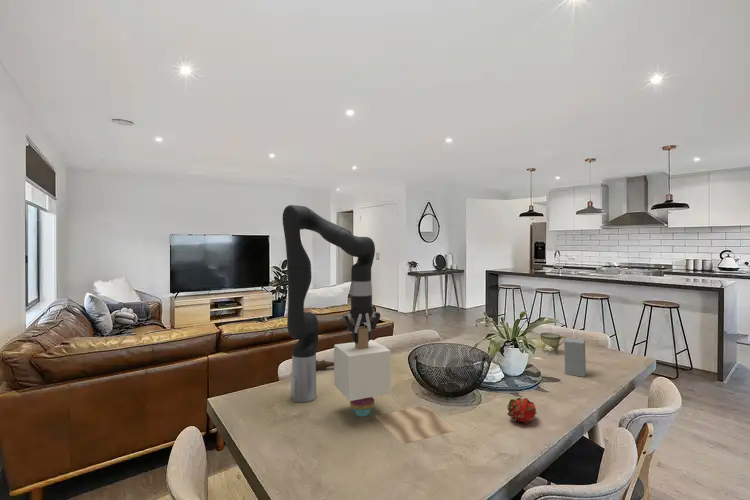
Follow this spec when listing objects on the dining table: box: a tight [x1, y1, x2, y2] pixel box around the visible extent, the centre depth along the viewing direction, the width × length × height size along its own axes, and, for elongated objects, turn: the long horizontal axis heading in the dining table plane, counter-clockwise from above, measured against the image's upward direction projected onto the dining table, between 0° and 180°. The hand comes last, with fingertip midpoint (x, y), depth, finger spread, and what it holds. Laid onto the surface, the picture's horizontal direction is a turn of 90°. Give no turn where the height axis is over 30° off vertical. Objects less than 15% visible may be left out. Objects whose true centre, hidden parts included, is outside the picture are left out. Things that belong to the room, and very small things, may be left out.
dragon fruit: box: [507, 397, 538, 425], centre depth 129 cm, size 8×8×12 cm
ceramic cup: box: [540, 332, 567, 355], centre depth 205 cm, size 13×10×10 cm
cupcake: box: [349, 397, 375, 417], centre depth 133 cm, size 9×8×12 cm
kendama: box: [316, 359, 334, 371], centre depth 181 cm, size 6×10×20 cm
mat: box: [374, 405, 457, 445], centre depth 126 cm, size 20×20×1 cm
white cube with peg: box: [333, 325, 392, 402], centre depth 133 cm, size 15×15×22 cm
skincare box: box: [563, 337, 587, 378], centre depth 173 cm, size 8×7×16 cm
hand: (361, 341), depth 133 cm, fingers closed on white cube with peg, 3 cm apart
